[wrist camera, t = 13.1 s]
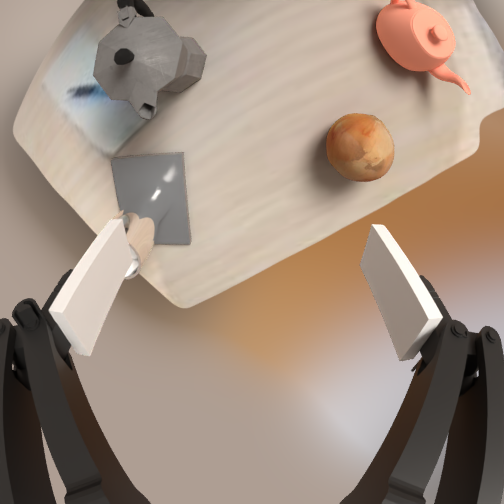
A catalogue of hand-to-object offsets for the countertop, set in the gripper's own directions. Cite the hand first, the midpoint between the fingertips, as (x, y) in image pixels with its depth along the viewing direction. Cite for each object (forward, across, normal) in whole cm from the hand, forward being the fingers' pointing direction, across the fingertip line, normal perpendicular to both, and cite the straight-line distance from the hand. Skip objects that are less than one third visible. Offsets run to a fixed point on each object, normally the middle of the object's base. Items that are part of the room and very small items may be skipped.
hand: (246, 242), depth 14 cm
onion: (+29, +15, 0) cm, 33 cm away
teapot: (+29, +24, +19) cm, 42 cm away
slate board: (+29, -16, -11) cm, 34 cm away
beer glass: (+28, -16, -11) cm, 34 cm away
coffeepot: (+29, -11, +12) cm, 33 cm away
